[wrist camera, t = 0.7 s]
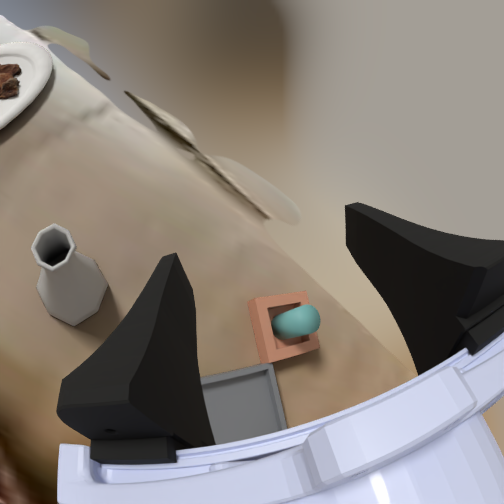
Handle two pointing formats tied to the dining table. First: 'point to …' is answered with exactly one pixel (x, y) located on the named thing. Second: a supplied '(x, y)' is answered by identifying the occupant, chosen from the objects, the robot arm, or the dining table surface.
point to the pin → (296, 322)
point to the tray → (243, 403)
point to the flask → (67, 276)
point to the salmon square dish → (261, 321)
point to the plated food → (21, 77)
